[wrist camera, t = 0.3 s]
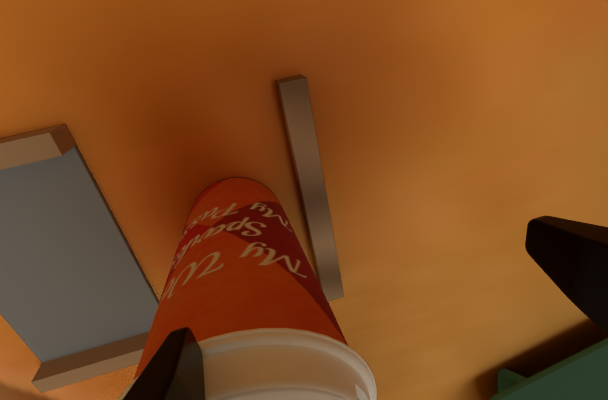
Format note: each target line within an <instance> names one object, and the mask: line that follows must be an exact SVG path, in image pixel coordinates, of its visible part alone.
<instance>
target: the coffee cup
mask: <svg viewBox="0 0 608 400" xmlns="http://www.w3.org/2000/svg"><path fill="white" fill-rule="evenodd" d="M183 327H189V328H190V329H191V331H192V332H193V334H194V336H195V338H196V340H197V342H198V344H199V346H200V348H201V351H202V355H203V367H204V385H205V400H377V392H376V384H375V380H374V376H373V374H372V372H371V370H370V368H369V366H368V365H367V363H366V362H365V360H364V359H363V358H362V357H361V356H360V355H359V354H358V353H357V352H356V351H354V350H353V349H351V348H350V347H349V346H348V345H347V342H346V340H345V338H344V336H343V334H342V332H341V329H340V327H339V325H338V323H337V321H336V318H335V316H334V314H333V312H332V310H331V308H330V305H329V303H328V301H327V299H326V297H325V295H324V293H323V291H322V289H321V287H320V285H319V283H318V281H317V279H316V277H315V275H314V273H313V271H312V268H311V266H310V264H309V262H308V260H307V258H306V256H305V254H304V252H303V249H302V247H301V245H300V243H299V241H298V239H297V237H296V235H295V233H294V231H293V228H292V226H291V224H290V222H289V220H288V218H287V216H286V214H285V212H284V210H283V208H282V206H281V204H280V203H279V201H278V199H277V198H276V196H275V195H274V194H273V193H272V192H271V191H270V190H269V189H268V188H267V187H266V186H264V185H263V184H261V183H259V182H257V181H254V180H251V179H247V178H228V179H224V180H221V181H218V182H216V183H214V184H212V185H210V186H209V187H207V188H206V189H205V190H204V191H203V192H202V193H201V194H200V195H199V196H198V198H197V199H196V201H195V203H194V205H193V207H192V209H191V212H190V214H189V217H188V219H187V222H186V225H185V228H184V231H183V234H182V236H181V239H180V242H179V245H178V248H177V251H176V254H175V257H174V260H173V263H172V266H171V269H170V272H169V275H168V278H167V281H166V284H165V287H164V290H163V293H162V296H161V299H160V302H159V305H158V308H157V311H156V314H155V317H154V320H153V323H152V326H151V329H150V332H149V335H148V338H147V341H146V344H145V347H144V350H143V353H142V356H141V359H140V362H139V365H138V368H137V371H136V374H135V377H134V380H133V381H132V382H131V383H130V384H129V385H128V386H127V387H126V388H125V390H124V391H123V392H122V394H121V395H120V396H119V397H118V399H117V400H122V399H123V398H124V396H125V395H126V394H127V392H128V391H129V389H130V388H131V387H132V385H133V384H134V382H135V381H136V380H137V378H138V377H139V375H140V374H141V372H142V371H143V370H144V368H145V367H146V365H147V364H148V363H149V361H150V360H151V358H152V357H153V356H154V354H155V353H156V351H157V350H158V348H159V347H160V346H161V344H162V343H163V341H164V340H165V339H166V337H167V336H168V334H169V333H170V332H171V331H173V330H176V329H180V328H183Z"/></svg>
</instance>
